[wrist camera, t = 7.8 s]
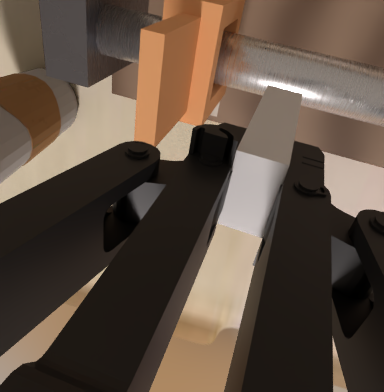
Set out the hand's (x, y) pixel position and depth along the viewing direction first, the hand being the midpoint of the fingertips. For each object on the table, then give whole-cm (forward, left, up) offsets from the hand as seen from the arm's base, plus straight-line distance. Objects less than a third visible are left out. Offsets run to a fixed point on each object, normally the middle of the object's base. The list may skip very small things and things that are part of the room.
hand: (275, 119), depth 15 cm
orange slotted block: (+5, 0, -10) cm, 11 cm away
